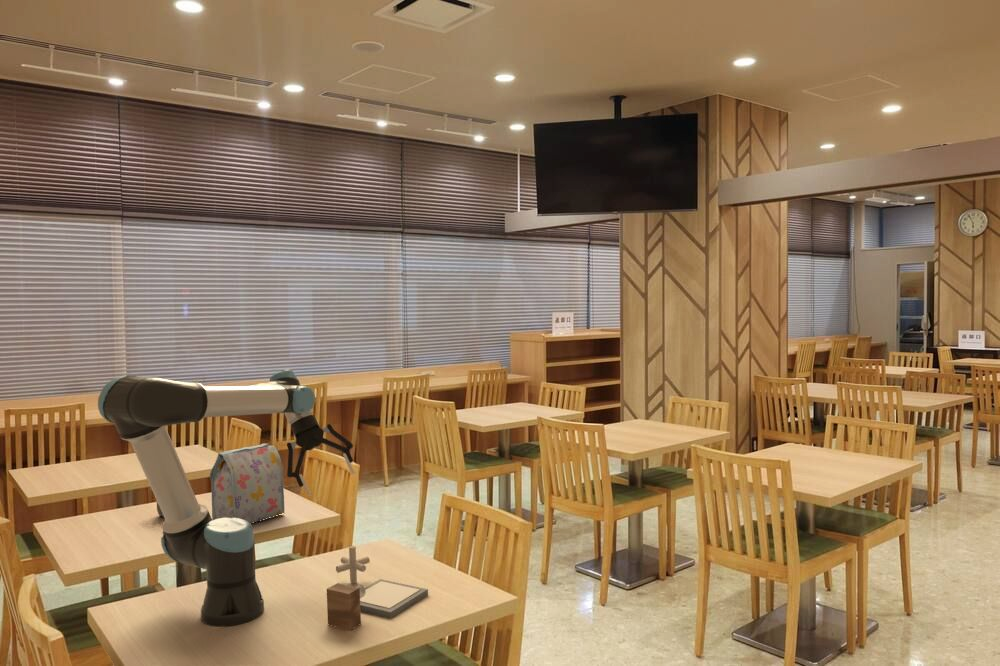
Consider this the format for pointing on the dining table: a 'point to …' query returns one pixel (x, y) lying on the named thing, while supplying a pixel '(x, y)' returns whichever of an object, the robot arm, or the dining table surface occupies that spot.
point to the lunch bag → (247, 484)
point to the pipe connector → (352, 564)
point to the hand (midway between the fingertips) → (331, 484)
